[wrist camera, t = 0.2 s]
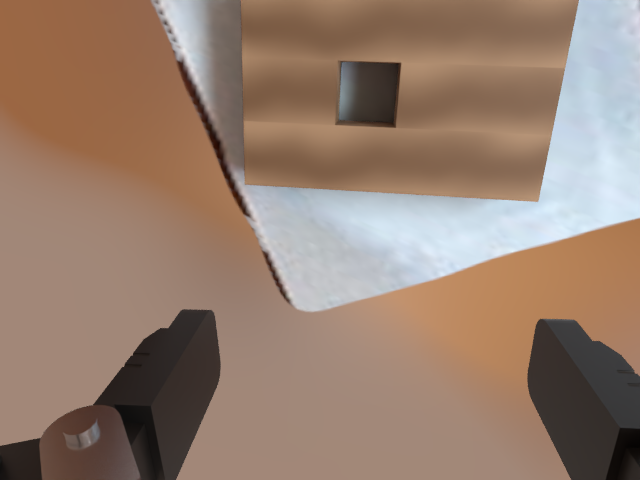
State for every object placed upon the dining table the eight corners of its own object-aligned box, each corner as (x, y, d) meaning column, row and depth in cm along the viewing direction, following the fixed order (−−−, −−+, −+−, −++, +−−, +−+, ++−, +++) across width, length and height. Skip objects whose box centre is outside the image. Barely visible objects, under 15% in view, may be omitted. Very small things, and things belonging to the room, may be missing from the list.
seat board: (254, -10, 35) (240, -20, 31) (557, -4, 33) (581, -13, 29) (256, 174, 40) (244, 184, 36) (521, 189, 38) (538, 201, 34)
